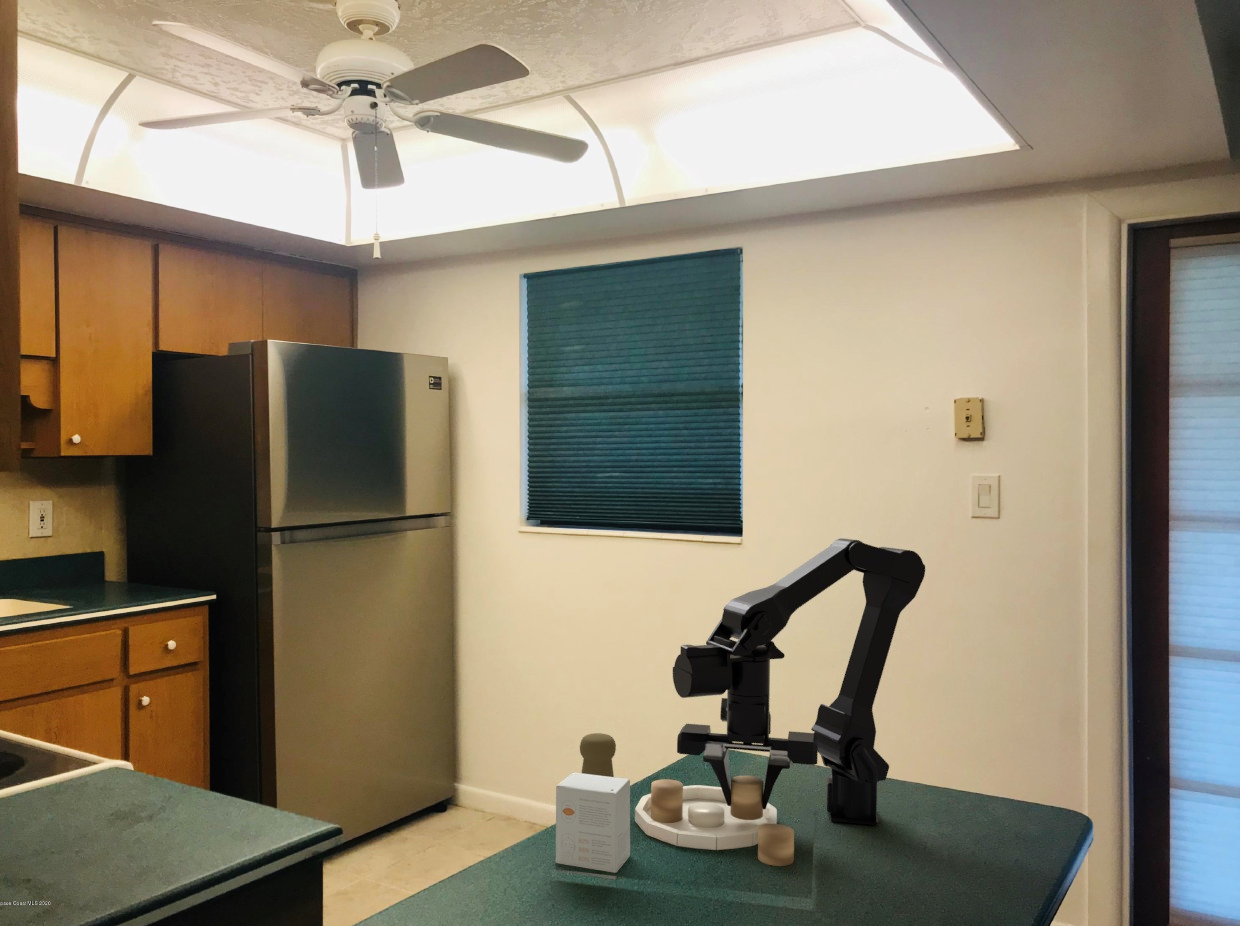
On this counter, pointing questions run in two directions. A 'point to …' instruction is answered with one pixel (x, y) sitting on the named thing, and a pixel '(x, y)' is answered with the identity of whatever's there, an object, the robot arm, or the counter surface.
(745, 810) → the tan rounded piece
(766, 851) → the bead
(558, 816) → the small box
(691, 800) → the tray
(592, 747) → the cork
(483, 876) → the counter surface
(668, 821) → the bead
